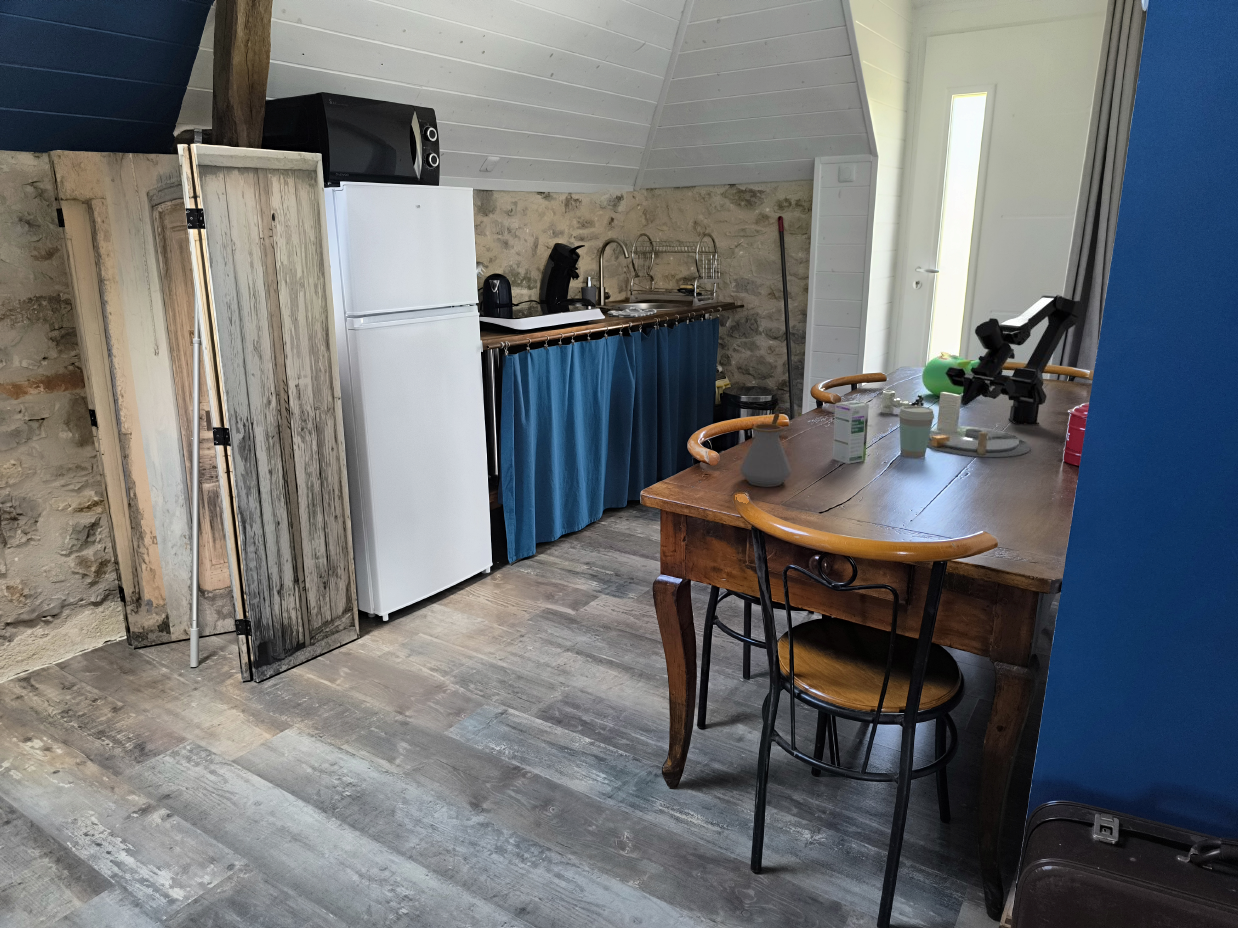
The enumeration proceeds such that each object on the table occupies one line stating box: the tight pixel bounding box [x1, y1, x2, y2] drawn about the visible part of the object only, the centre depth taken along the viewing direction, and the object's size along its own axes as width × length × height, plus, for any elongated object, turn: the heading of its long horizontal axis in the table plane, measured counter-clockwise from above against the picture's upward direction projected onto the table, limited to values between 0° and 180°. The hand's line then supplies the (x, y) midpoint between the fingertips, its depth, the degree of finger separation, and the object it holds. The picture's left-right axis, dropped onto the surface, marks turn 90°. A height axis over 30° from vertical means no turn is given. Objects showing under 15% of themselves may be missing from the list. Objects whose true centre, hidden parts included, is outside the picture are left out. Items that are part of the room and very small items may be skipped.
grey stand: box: [929, 392, 1020, 452], centre depth 217 cm, size 22×24×11 cm
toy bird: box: [921, 351, 980, 397], centre depth 277 cm, size 18×17×15 cm
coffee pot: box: [739, 404, 792, 488], centre depth 191 cm, size 21×12×15 cm, turn 158°
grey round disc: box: [927, 438, 1031, 459], centre depth 219 cm, size 28×28×1 cm
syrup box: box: [832, 400, 870, 465], centre depth 203 cm, size 6×6×14 cm
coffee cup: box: [897, 406, 935, 459], centre depth 207 cm, size 9×8×12 cm
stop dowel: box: [977, 432, 988, 456], centre depth 207 cm, size 2×2×6 cm
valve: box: [880, 390, 925, 415], centre depth 253 cm, size 7×7×12 cm
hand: (963, 404), depth 225 cm, fingers closed
